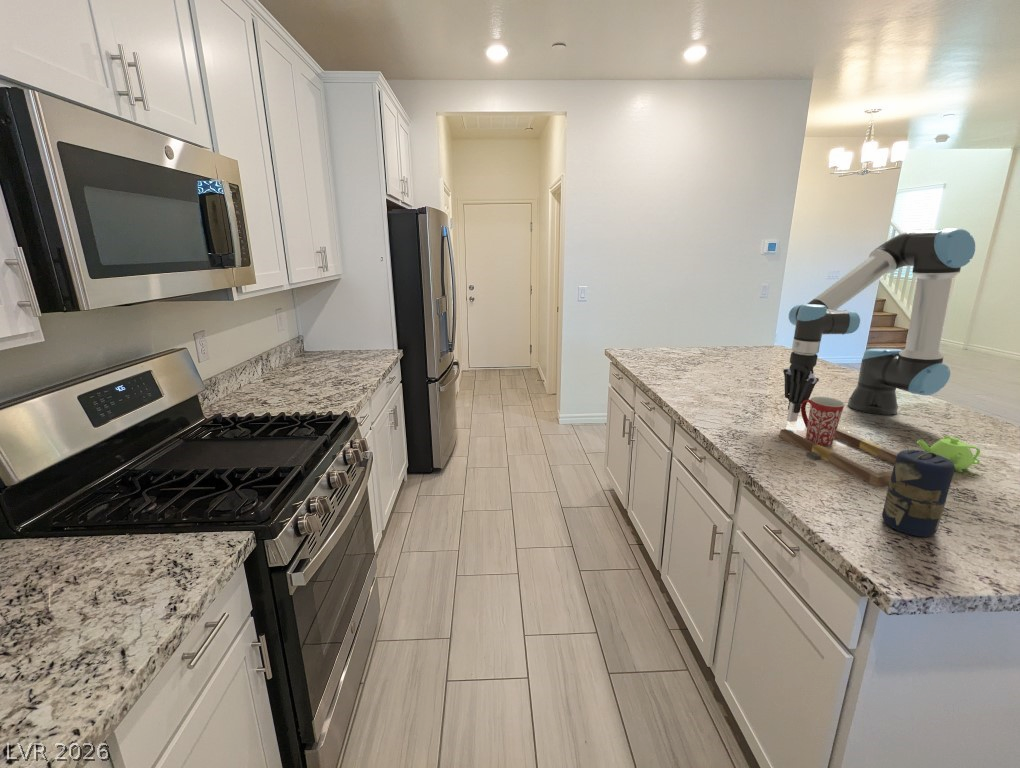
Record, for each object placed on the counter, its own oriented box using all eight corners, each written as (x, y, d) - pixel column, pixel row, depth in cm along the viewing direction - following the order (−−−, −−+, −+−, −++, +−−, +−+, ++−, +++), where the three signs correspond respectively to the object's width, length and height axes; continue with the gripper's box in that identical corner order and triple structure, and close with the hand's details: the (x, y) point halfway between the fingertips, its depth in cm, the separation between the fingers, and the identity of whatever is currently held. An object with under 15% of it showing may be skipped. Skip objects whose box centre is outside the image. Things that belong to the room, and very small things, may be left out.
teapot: (986, 473, 129) (994, 444, 127) (953, 477, 127) (961, 448, 124) (941, 456, 140) (949, 429, 137) (910, 460, 137) (917, 432, 135)
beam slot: (836, 431, 159) (838, 424, 158) (944, 477, 126) (947, 469, 126) (771, 437, 154) (772, 430, 153) (866, 487, 122) (868, 478, 121)
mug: (843, 445, 147) (852, 404, 143) (819, 448, 145) (828, 407, 141) (809, 430, 159) (817, 391, 155) (787, 432, 157) (794, 394, 153)
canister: (869, 516, 109) (886, 443, 104) (908, 514, 109) (926, 442, 104) (906, 541, 99) (927, 463, 94) (948, 539, 100) (970, 460, 95)
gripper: (780, 348, 159) (768, 414, 166) (810, 357, 147) (796, 428, 154) (799, 348, 161) (787, 413, 167) (830, 356, 149) (816, 427, 155)
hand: (791, 420), depth 161 cm, fingers closed
